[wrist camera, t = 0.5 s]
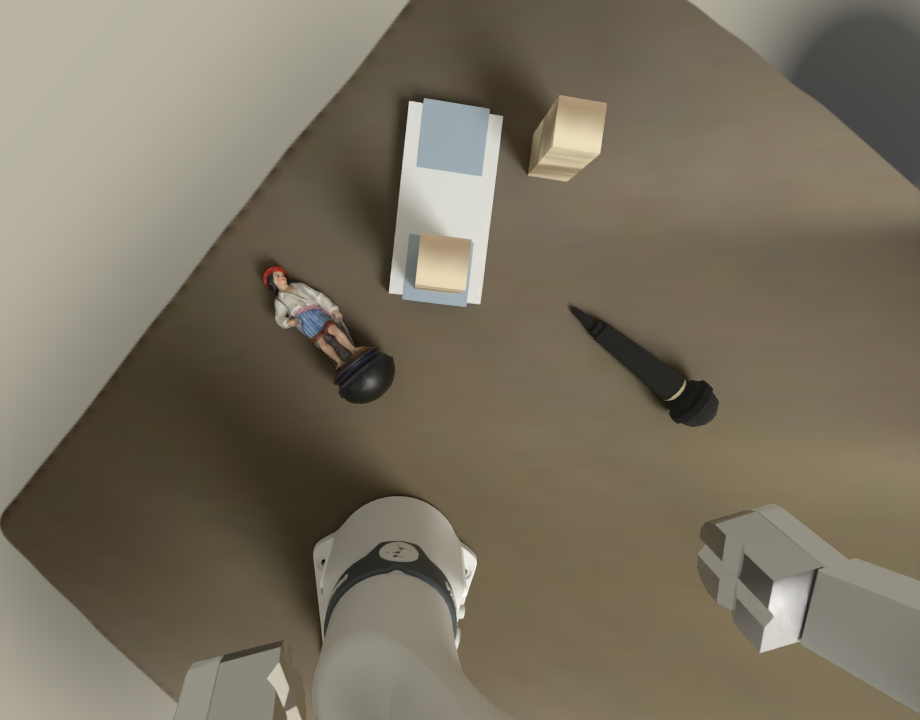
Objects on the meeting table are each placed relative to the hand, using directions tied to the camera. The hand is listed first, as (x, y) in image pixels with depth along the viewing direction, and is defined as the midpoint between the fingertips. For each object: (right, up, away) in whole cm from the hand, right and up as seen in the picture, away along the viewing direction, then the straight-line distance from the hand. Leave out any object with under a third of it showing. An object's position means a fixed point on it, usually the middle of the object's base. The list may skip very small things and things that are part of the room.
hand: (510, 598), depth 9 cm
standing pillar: (-3, +14, +44) cm, 47 cm away
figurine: (-15, +8, +46) cm, 49 cm away
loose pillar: (+9, +27, +46) cm, 54 cm away
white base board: (-3, +21, +45) cm, 50 cm away
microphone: (+20, +5, +50) cm, 54 cm away
